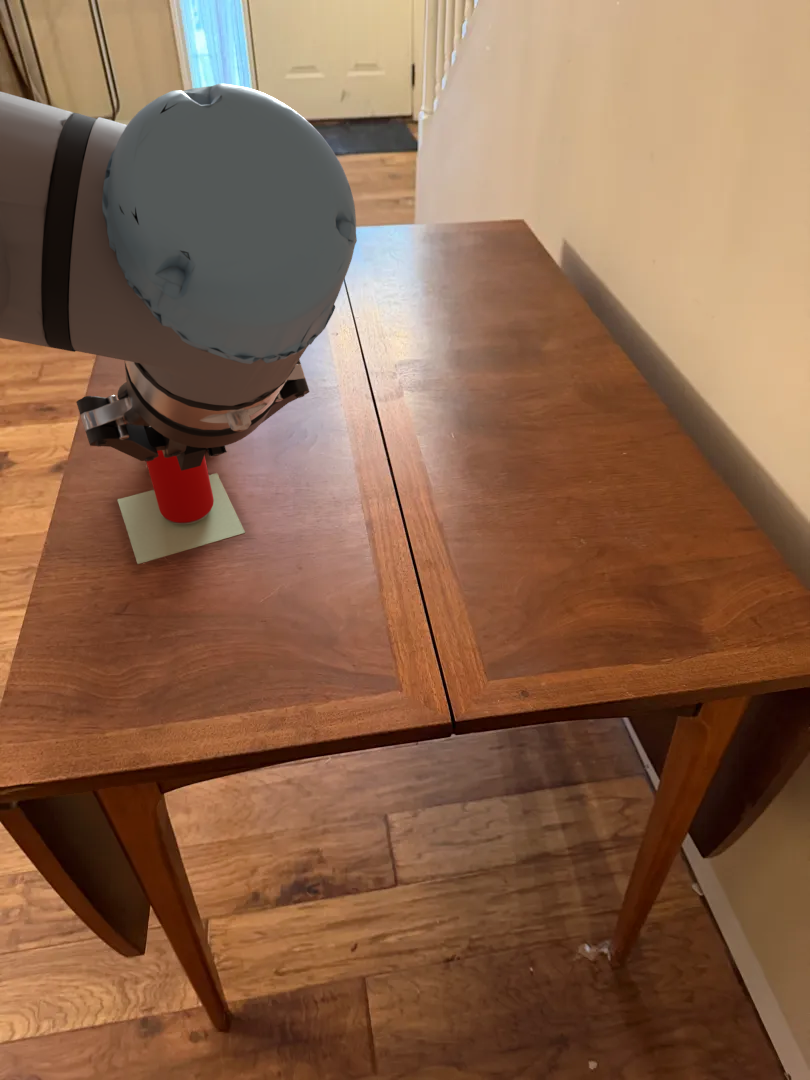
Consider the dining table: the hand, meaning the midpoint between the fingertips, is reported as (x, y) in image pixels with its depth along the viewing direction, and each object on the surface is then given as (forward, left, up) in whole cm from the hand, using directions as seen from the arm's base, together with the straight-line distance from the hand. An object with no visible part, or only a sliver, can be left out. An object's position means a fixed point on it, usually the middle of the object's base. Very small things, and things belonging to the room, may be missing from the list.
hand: (185, 451), depth 59 cm
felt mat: (0, +22, -24) cm, 32 cm away
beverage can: (+1, +22, -24) cm, 32 cm away
